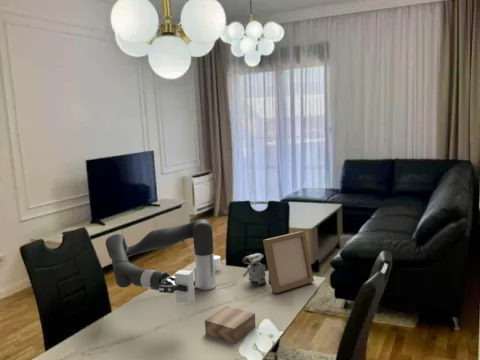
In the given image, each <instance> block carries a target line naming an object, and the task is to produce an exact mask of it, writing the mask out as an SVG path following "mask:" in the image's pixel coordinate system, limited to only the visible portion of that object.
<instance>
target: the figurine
mask: <svg viewBox="0 0 480 360" xmlns="http://www.w3.org/2000/svg"><path fill="white" fill-rule="evenodd" d="M262 259H264V254H262V253H258V252H257V253H254V254H252V253H249V255H246V256H244V257H243V259H242V262H243V264H248V266H247V267H246V269H247V270H246V271H244V273H243V274H242V276H243V277H246V276H247V275H248V276H249V278H248V280H249V281H250V282H257V286H258V287H263V286H266V285H267V279H266V272H267V271H268V269H267V264H264V263H261V261H262Z"/></svg>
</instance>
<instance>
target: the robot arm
mask: <svg viewBox="0 0 480 360" xmlns="http://www.w3.org/2000/svg"><path fill="white" fill-rule="evenodd" d="M213 238H214V236H213V224H212V223H211V221H209V220H208V219H204V218H203V219H197V220H195V221H192V222H187V223H186V224H181V225H176V226H169V227H164V228H158V229H155V230H154V229H153V230H151V231H149V232H148V233H147V234H145V236H144V237H142V239H141V240H140V241H138V242H137V243H136V244H132V245H131V246H128V245H127V243H126V238H125V237H124V235H122V234H120V233H117V234H112V235H110V236H108V237H107V238H106V240H105V247H106V250H107V253H108V256H109V258H110V259H111V264H112V268H113V273H114V278H115V283H116V285H117V287H120V288H127V287H130V286H131V285H134V286H136V287H142V288H145V289H149V290H152V291H153V290H154V291H158V292H159V293H162V294H163V293H166V294H174V293H175V292H176V291H183V292H187V291H188V288H187V286H185V285H178V284H175V275H174V276H173V275H172V276H171V275H170V274H169V273H168V272H167V271H163V270H155V269H146V268H140V267H139V266H137V265H135V264H133V263H132V262H130V261H129V257H131V256H134V255H138V254H141V253H145V252H149V251H154V250H156V251H157V250H160V249H164V248H168V247H172V246H174V245H176V244H178V243H180V242H182V241H185V240H189V239H193V249H194V261H195V268H194V269H193V270H194V271H193V275H194V288H197V289H198V290H202V291H208V290H212V289H214V288H216V287H217V284H216V282H217V281H216V271H215V264H214V255H215V254H214V253H215V252H214V251H215V250H214V239H213Z"/></svg>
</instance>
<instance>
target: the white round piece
mask: <svg viewBox="0 0 480 360" xmlns="http://www.w3.org/2000/svg"><path fill="white" fill-rule="evenodd" d="M221 261H222V260H221V256H220V255H215V254H214V264H215V272H220V271H221Z"/></svg>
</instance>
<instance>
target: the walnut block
mask: <svg viewBox="0 0 480 360" xmlns="http://www.w3.org/2000/svg"><path fill="white" fill-rule="evenodd" d="M255 328H256V313H254V312H250V311H246V310H244V309H239V308H235V307H233V306H232V307H231V306H228V305H226V306H224V307H222V308H221V309H218V311H217V312H215V313H213V314H212V315H210V316H208V317H207V318H205V319H204V330H205V331H204V332H205V335H209V336H211V337H214V338H217V339H220V340H224V341H227V342H231V343H234V344H236V343H237V342H239V341H240V340H241V339H242V338H243V337H245V336H246V335H248V334H249V333H250V332H251V331H252V330H254V329H255Z"/></svg>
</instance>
